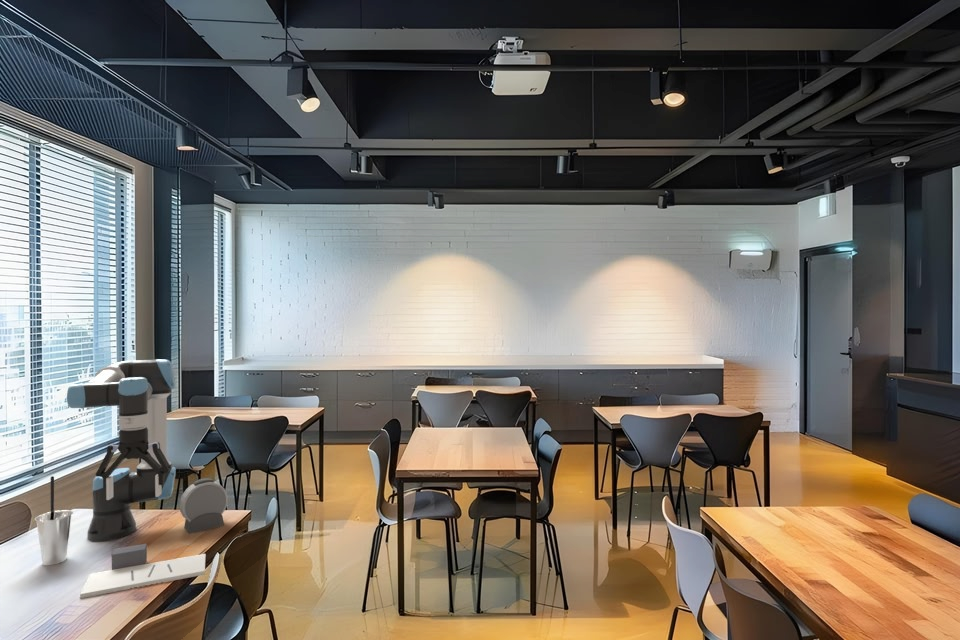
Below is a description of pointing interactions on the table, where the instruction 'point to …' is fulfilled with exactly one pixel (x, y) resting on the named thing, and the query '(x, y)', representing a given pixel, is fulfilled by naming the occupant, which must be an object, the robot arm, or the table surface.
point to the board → (143, 575)
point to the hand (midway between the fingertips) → (134, 497)
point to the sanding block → (129, 556)
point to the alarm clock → (203, 505)
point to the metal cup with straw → (53, 533)
